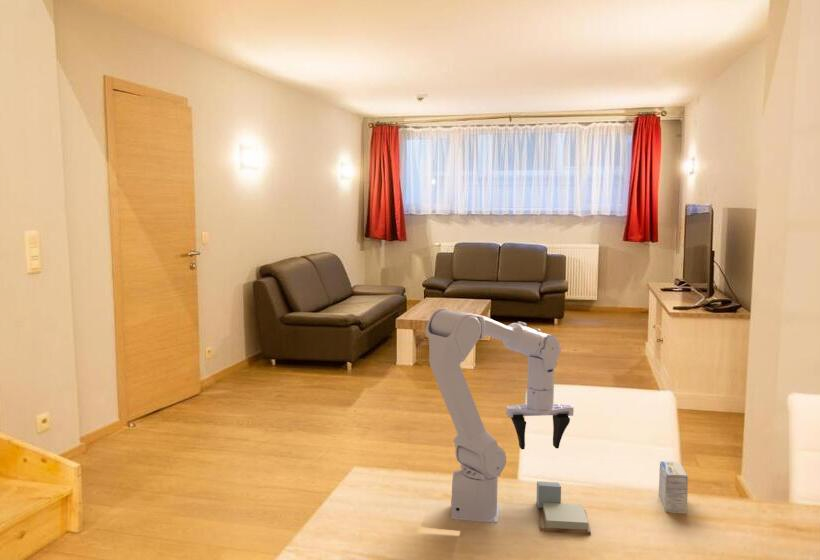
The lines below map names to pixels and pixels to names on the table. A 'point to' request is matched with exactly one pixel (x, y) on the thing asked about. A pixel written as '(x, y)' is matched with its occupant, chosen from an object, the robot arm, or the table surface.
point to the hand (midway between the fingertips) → (538, 447)
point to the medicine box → (673, 487)
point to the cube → (548, 493)
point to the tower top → (565, 516)
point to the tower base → (558, 530)
